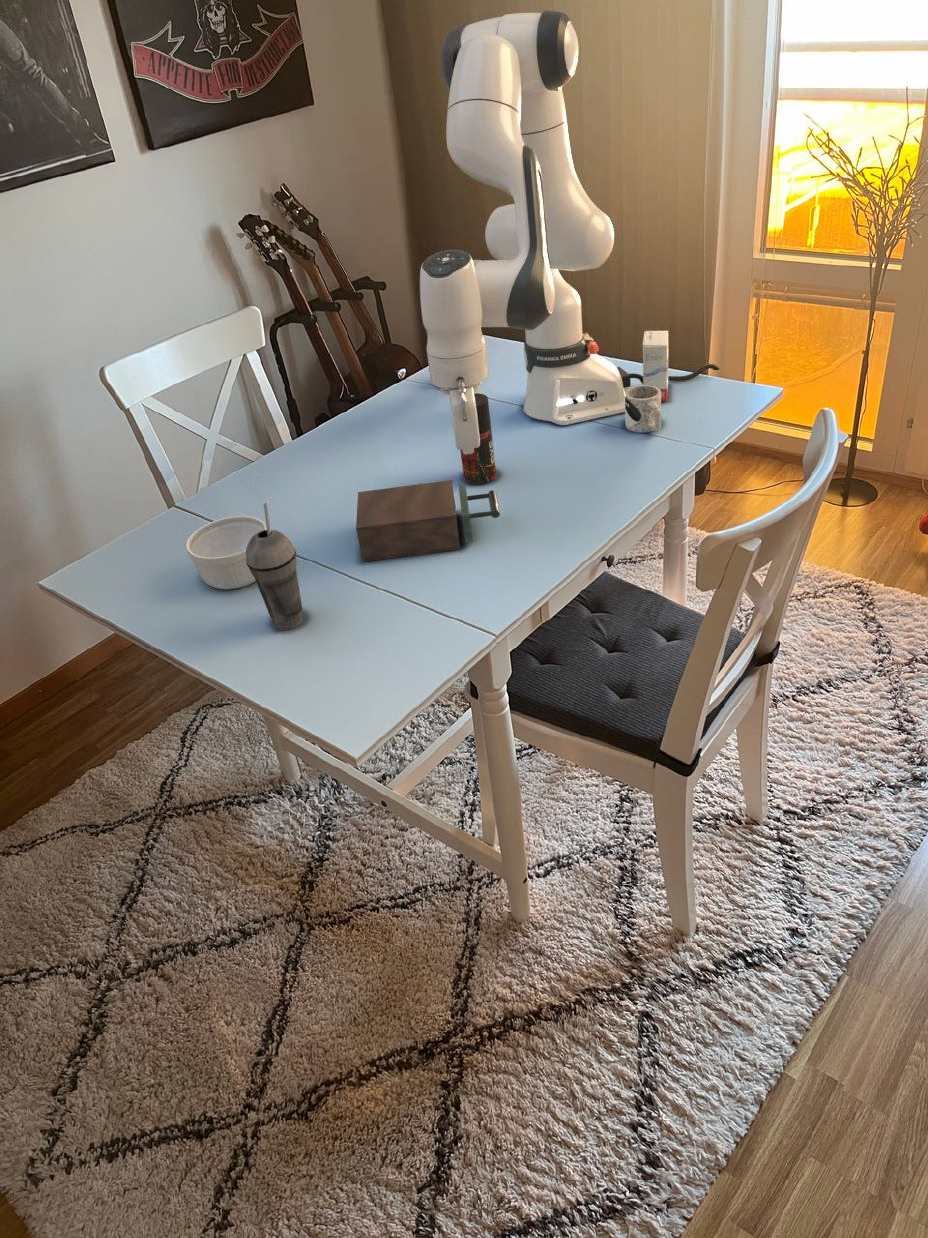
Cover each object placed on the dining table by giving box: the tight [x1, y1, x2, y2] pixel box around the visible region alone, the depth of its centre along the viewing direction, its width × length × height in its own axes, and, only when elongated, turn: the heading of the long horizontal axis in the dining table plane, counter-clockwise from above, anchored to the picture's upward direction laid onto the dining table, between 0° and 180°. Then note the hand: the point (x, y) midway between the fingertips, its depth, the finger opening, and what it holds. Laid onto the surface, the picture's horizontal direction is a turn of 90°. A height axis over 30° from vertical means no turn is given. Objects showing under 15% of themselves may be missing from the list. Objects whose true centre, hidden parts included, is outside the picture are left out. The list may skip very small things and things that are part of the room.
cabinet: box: [355, 479, 461, 563], centre depth 160 cm, size 16×12×6 cm
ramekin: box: [185, 515, 267, 590], centre depth 157 cm, size 13×13×7 cm
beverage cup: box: [246, 502, 304, 631], centre depth 140 cm, size 7×7×20 cm
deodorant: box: [459, 392, 497, 486], centre depth 171 cm, size 6×6×15 cm
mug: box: [624, 384, 662, 433], centre depth 182 cm, size 10×7×7 cm, turn 18°
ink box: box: [642, 330, 669, 403], centre depth 193 cm, size 9×5×12 cm, turn 168°
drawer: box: [453, 483, 501, 544], centre depth 159 cm, size 20×11×5 cm, turn 93°
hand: (468, 450), depth 153 cm, fingers closed
